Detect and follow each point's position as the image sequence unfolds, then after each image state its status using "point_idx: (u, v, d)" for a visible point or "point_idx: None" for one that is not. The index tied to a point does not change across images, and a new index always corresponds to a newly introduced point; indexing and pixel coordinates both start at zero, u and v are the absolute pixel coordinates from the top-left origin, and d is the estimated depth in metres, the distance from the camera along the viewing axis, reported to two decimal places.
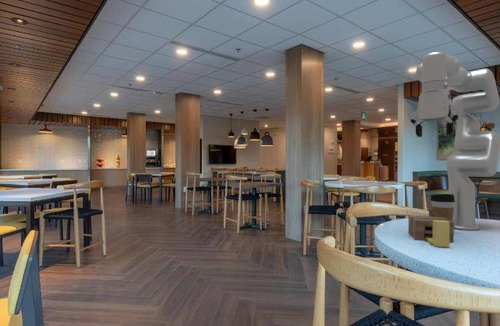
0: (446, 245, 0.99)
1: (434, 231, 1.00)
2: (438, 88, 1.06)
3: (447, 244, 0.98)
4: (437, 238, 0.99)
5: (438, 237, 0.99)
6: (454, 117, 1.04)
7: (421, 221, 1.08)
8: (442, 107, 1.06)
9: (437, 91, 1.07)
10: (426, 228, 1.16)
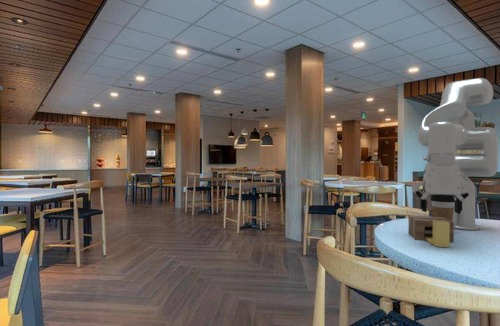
0: (446, 245, 0.99)
1: (434, 231, 1.00)
2: None
3: (447, 244, 0.98)
4: (437, 238, 0.99)
5: (438, 237, 0.99)
6: None
7: (421, 221, 1.08)
8: None
9: None
10: (426, 228, 1.16)
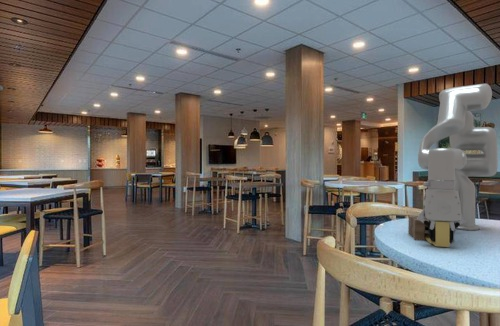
0: (446, 245, 0.99)
1: None
2: None
3: (447, 244, 0.98)
4: (437, 238, 0.99)
5: (438, 237, 0.99)
6: None
7: None
8: None
9: None
10: (426, 228, 1.16)
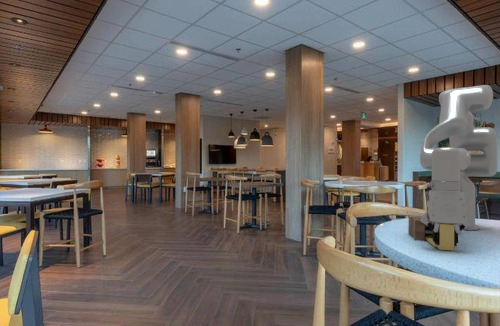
0: (451, 248, 0.95)
1: None
2: None
3: (452, 247, 0.95)
4: (442, 241, 0.95)
5: (442, 240, 0.95)
6: None
7: None
8: None
9: None
10: (426, 228, 1.16)
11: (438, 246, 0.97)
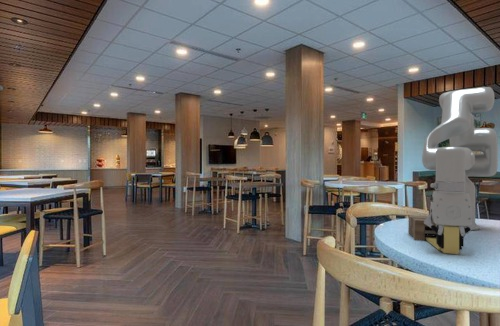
0: (455, 252, 0.91)
1: None
2: None
3: (457, 251, 0.91)
4: (446, 245, 0.92)
5: (447, 244, 0.92)
6: None
7: (421, 221, 1.08)
8: None
9: None
10: (426, 228, 1.16)
11: (442, 249, 0.93)
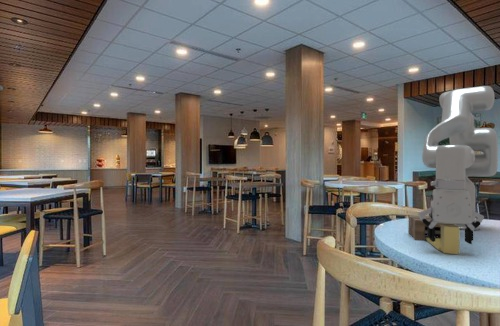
0: (456, 252, 0.91)
1: (442, 237, 0.93)
2: None
3: (457, 251, 0.91)
4: (446, 245, 0.92)
5: (447, 244, 0.91)
6: None
7: (421, 221, 1.08)
8: None
9: None
10: (426, 228, 1.16)
11: (442, 249, 0.93)
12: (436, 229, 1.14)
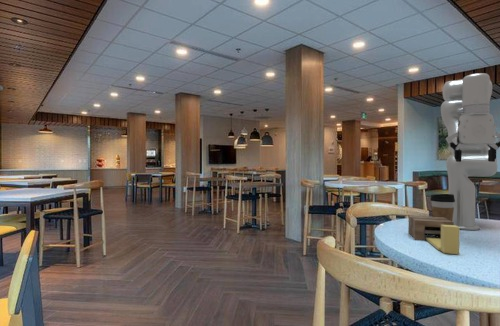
0: (456, 252, 0.91)
1: (442, 237, 0.93)
2: None
3: (457, 251, 0.91)
4: (446, 245, 0.92)
5: (447, 244, 0.91)
6: None
7: (421, 221, 1.08)
8: None
9: None
10: (426, 228, 1.16)
11: (442, 249, 0.93)
12: (436, 229, 1.14)
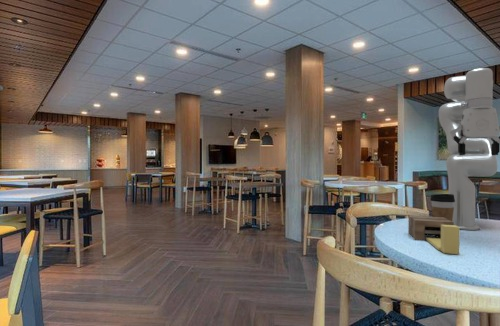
0: (456, 252, 0.91)
1: (442, 237, 0.93)
2: None
3: (457, 251, 0.91)
4: (446, 245, 0.92)
5: (447, 244, 0.91)
6: None
7: (421, 221, 1.08)
8: None
9: None
10: (426, 228, 1.16)
11: (442, 249, 0.93)
12: (436, 229, 1.14)
